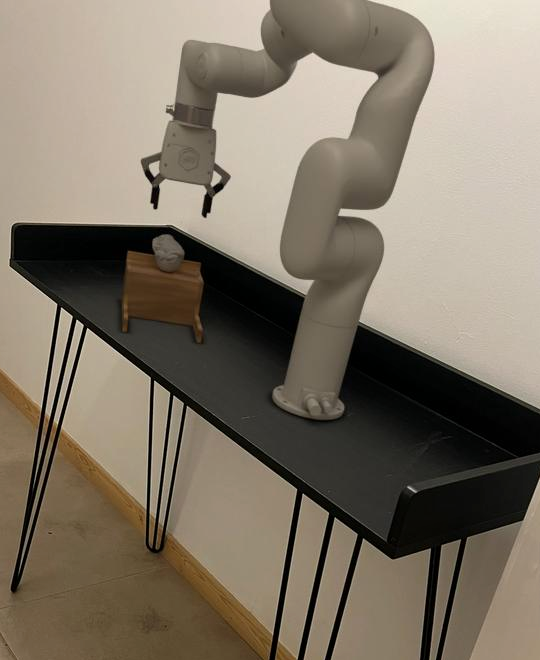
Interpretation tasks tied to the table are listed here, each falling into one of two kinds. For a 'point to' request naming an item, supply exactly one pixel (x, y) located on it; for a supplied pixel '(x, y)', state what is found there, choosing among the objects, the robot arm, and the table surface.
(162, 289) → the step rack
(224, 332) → the table surface
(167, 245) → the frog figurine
